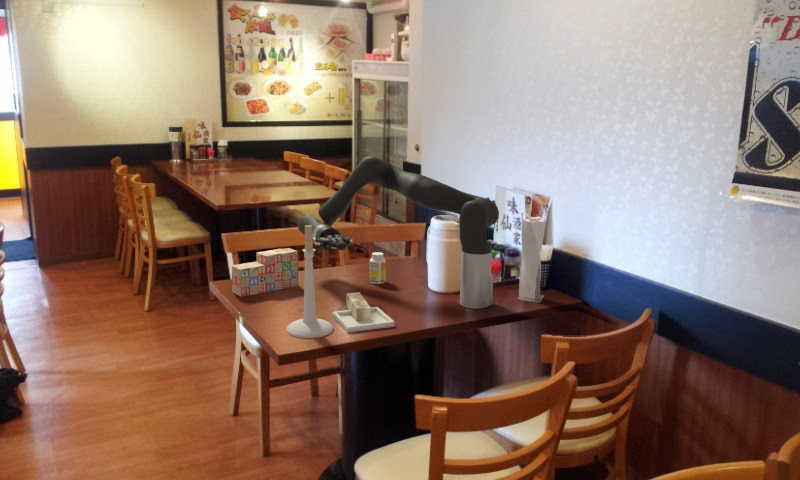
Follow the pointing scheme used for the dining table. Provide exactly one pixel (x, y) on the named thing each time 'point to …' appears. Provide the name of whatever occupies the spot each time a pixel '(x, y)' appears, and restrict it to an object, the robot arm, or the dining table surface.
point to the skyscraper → (531, 259)
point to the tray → (351, 325)
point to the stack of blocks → (266, 272)
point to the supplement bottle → (377, 268)
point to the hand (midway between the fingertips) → (342, 246)
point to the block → (358, 306)
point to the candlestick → (309, 300)
